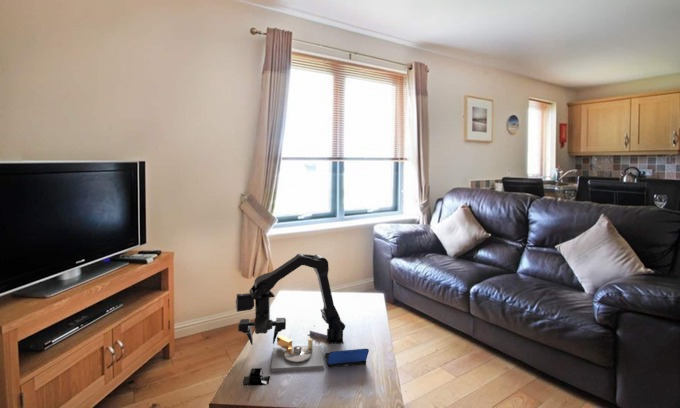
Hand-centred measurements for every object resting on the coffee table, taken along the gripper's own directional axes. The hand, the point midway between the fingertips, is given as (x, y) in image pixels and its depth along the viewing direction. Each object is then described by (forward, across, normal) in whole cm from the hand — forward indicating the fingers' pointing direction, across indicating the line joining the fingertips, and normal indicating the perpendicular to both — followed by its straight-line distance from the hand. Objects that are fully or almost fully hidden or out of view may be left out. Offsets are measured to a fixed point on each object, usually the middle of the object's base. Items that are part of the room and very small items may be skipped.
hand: (262, 343), depth 150 cm
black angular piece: (+5, -1, -19) cm, 19 cm away
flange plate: (+2, +13, -5) cm, 14 cm away
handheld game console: (+4, +33, -10) cm, 35 cm away
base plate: (+4, +14, -7) cm, 16 cm away
